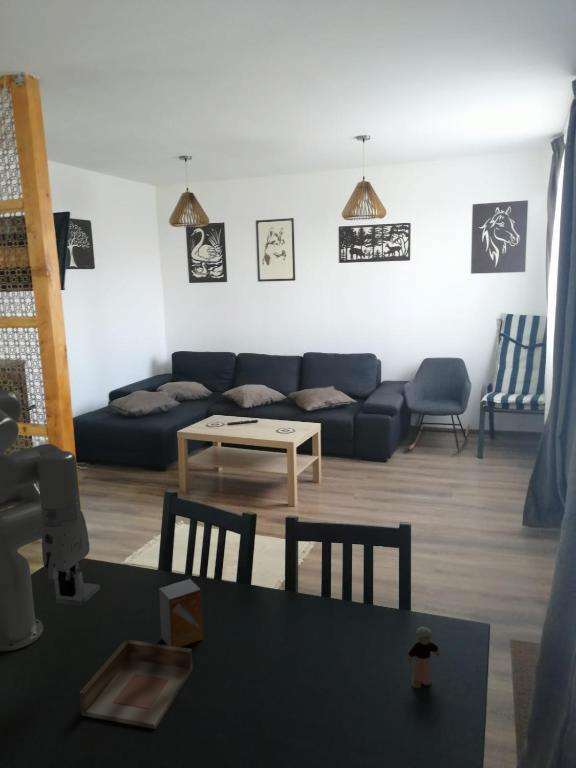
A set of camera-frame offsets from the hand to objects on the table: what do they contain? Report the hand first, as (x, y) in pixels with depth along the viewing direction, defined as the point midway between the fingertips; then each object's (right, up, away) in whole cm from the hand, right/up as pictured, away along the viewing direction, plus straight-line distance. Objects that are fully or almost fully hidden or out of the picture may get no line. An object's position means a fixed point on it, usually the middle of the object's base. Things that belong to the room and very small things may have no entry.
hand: (69, 593), depth 128 cm
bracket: (+1, -2, +3) cm, 4 cm away
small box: (+21, -16, +16) cm, 31 cm away
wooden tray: (+15, -20, -2) cm, 25 cm away
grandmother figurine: (+75, -19, -1) cm, 77 cm away
